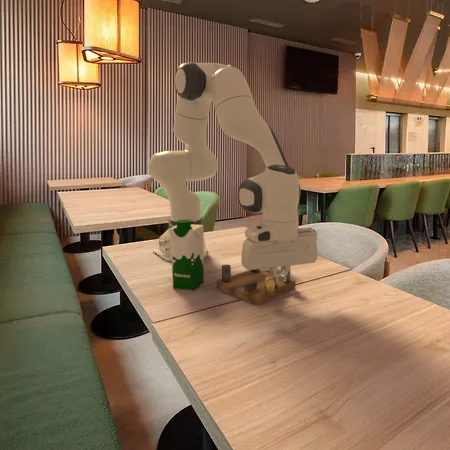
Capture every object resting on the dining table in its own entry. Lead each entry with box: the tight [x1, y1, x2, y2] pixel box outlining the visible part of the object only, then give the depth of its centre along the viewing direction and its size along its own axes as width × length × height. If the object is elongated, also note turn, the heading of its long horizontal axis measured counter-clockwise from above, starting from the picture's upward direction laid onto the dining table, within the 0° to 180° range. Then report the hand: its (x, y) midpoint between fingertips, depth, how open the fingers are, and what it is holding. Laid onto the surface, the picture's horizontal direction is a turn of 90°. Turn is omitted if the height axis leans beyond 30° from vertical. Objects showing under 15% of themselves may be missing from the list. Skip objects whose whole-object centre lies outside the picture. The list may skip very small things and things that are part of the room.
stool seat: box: [216, 263, 296, 306], centre depth 110 cm, size 16×16×7 cm
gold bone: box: [265, 276, 277, 295], centre depth 103 cm, size 9×3×4 cm, turn 168°
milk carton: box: [168, 220, 205, 291], centre depth 113 cm, size 9×9×20 cm
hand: (279, 281), depth 101 cm, fingers closed
